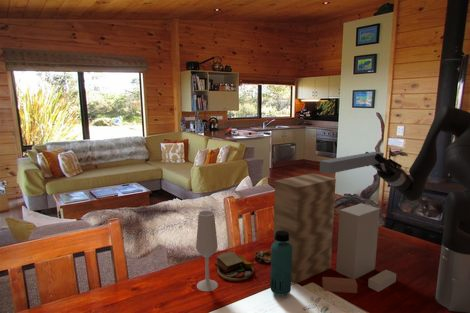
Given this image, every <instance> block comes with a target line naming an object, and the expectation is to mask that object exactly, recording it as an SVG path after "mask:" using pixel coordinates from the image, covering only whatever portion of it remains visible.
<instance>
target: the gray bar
mask: <svg viewBox="0 0 470 313" xmlns="http://www.w3.org/2000/svg"><path fill="white" fill-rule="evenodd" d="M376 153H379V154H380V155H381V156H382V157H384V156H385V155H384V152H379V151H369V153H366V152H364V153H359V154H354V155H348V156H341V157H334V158H329V159H323V160H319V173H322V174H327V175H330V174H335V173H340V172H344V171H349V170H354V169H359V168H365V167H370V166H371V165H374V164H379V162H378V161H377V160H376V159H375V156H376Z"/></svg>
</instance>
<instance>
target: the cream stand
mask: <svg viewBox="0 0 470 313" xmlns="http://www.w3.org/2000/svg"><path fill="white" fill-rule="evenodd" d="M380 213H381V212H380V207H376V206H372V205H368V204H366V203H363V202H362V203H358V204H355V205H351V206H348V207H344V208H341V209H339V218H338V220H339V221H338V235H337V252H336V264H335V265H336V266H335V271H336V272H337V273H339V274H341V275H343V276H344V277H345V276H346V277H347V278H349V279H355V280H356V279H359V278H360V277H362V276H365V275H367V274H368V273H370V272H372V271H374V270H375V269H376V262H377V260H376V259H377V258H376V257H377V249H378V237H379V236H378V235H379V223H380V222H379V221H380Z"/></svg>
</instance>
